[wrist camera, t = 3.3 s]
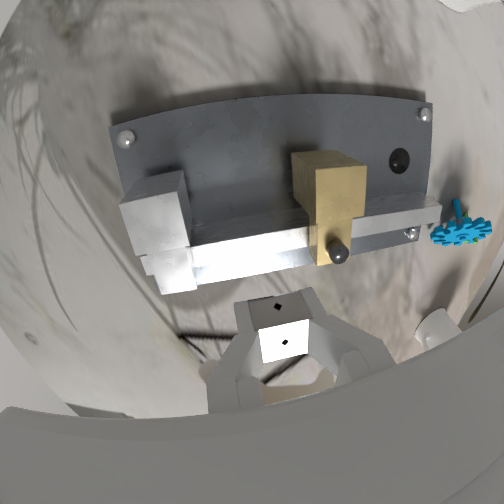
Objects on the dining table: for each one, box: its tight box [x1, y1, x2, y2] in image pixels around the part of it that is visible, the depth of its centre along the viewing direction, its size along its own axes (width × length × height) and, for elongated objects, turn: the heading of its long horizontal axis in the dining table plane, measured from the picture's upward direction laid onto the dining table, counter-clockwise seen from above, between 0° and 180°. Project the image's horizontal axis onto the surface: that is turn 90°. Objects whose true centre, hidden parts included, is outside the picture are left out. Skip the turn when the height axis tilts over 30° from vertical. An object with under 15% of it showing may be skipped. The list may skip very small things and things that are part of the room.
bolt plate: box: [109, 94, 432, 292], centre depth 26 cm, size 18×33×2 cm, turn 96°
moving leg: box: [291, 149, 367, 266], centre depth 23 cm, size 8×4×7 cm, turn 6°
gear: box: [430, 199, 492, 246], centre depth 30 cm, size 11×6×10 cm
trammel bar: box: [119, 170, 442, 295], centre depth 23 cm, size 8×31×7 cm, turn 96°
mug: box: [415, 308, 462, 351], centre depth 41 cm, size 12×8×12 cm
